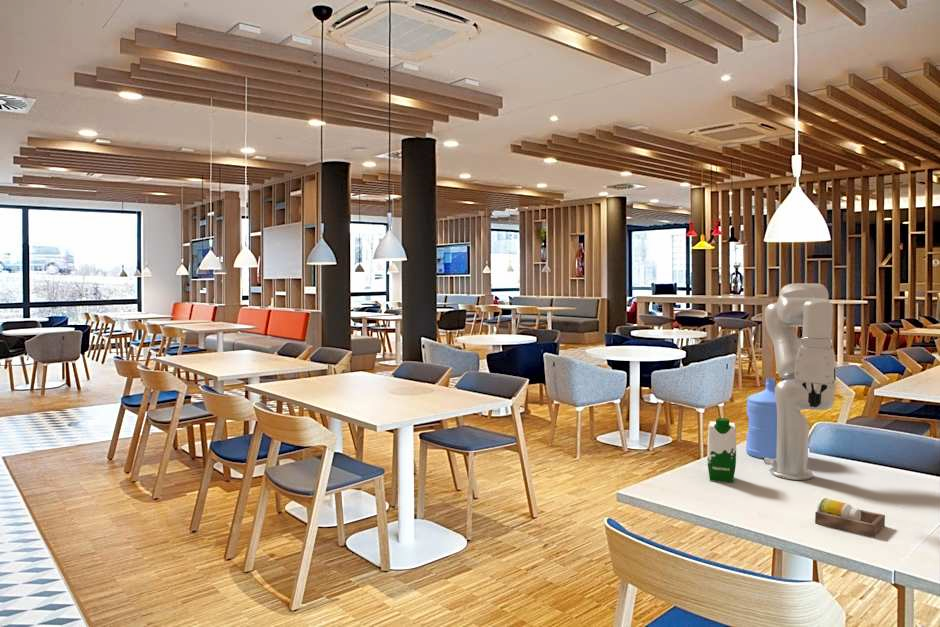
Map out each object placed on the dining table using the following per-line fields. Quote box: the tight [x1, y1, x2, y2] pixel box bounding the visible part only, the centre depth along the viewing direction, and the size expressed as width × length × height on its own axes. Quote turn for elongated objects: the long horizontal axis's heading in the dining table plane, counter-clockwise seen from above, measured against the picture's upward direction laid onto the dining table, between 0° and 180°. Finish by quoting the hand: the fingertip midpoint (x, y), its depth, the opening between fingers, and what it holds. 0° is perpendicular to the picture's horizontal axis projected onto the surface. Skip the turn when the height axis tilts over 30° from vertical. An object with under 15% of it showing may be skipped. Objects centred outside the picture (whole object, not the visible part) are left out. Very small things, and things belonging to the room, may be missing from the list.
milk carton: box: [706, 417, 737, 484], centre depth 226 cm, size 9×9×20 cm
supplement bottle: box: [816, 497, 861, 521], centre depth 188 cm, size 5×5×10 cm
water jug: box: [745, 377, 777, 459], centre depth 255 cm, size 16×16×28 cm
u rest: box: [814, 509, 886, 538], centre depth 186 cm, size 14×10×3 cm
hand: (814, 406), depth 202 cm, fingers closed
